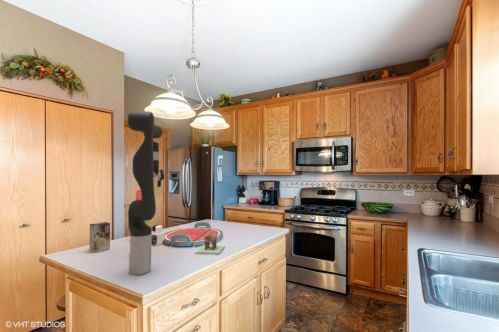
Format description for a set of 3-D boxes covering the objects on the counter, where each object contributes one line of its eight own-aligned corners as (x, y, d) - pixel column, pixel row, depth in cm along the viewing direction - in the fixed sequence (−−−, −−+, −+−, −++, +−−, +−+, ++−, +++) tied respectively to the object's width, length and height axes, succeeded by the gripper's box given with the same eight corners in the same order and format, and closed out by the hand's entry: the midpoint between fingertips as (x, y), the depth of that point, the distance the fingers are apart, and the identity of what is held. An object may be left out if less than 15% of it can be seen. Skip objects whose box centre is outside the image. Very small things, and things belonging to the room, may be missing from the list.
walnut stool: (216, 247, 152) (216, 234, 152) (214, 250, 146) (214, 236, 146) (207, 247, 153) (207, 233, 153) (204, 250, 147) (204, 236, 147)
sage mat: (219, 254, 142) (219, 252, 142) (195, 253, 143) (195, 251, 143) (224, 247, 155) (224, 245, 155) (202, 246, 157) (202, 245, 157)
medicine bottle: (148, 244, 162) (149, 225, 163) (157, 241, 169) (157, 224, 169) (156, 245, 159) (156, 227, 160) (165, 243, 165) (165, 225, 166)
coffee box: (105, 247, 155) (105, 221, 155) (110, 249, 151) (110, 222, 152) (88, 251, 148) (89, 224, 148) (93, 253, 144) (94, 225, 144)
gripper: (166, 160, 151) (166, 186, 151) (144, 160, 153) (144, 186, 152) (160, 159, 144) (160, 187, 143) (137, 159, 145) (137, 187, 145)
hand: (151, 187), depth 148 cm, fingers open, 8 cm apart
